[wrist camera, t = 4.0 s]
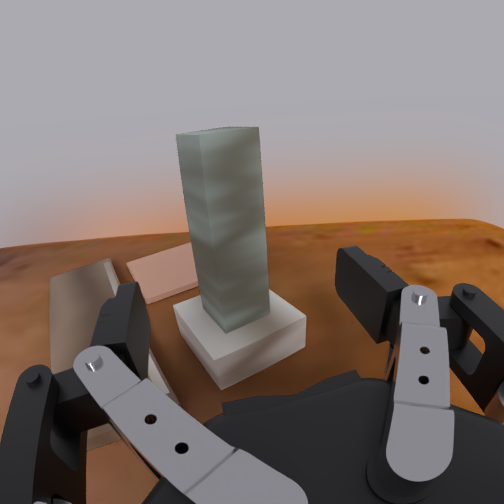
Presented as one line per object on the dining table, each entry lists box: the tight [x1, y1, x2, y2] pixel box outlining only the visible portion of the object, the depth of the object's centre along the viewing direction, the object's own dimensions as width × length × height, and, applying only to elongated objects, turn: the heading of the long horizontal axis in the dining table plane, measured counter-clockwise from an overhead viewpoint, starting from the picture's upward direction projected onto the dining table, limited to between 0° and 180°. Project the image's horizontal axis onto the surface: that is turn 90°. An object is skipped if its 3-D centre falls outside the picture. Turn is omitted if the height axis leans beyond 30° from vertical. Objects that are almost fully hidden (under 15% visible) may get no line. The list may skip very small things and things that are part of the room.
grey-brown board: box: [49, 258, 182, 451], centre depth 21 cm, size 7×21×1 cm, turn 33°
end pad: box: [126, 242, 199, 305], centre depth 29 cm, size 8×8×1 cm
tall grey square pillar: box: [173, 127, 306, 390], centre depth 17 cm, size 6×6×13 cm
